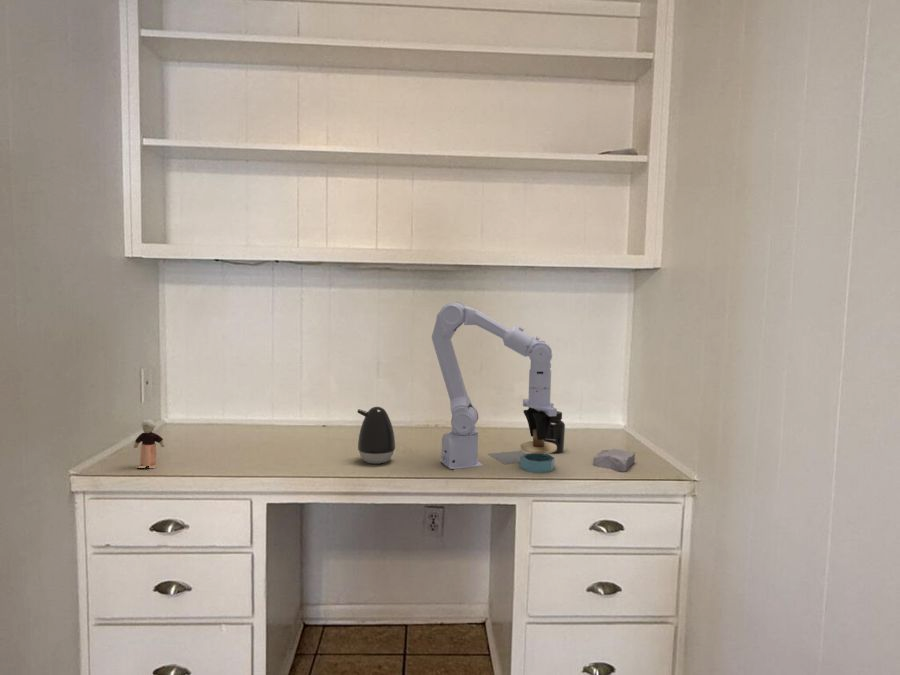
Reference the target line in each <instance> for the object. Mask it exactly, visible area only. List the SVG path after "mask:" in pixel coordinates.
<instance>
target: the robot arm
mask: <svg viewBox="0 0 900 675" xmlns="http://www.w3.org/2000/svg"><path fill="white" fill-rule="evenodd" d="M462 325H464V326H477V327H479V328H481V329H483V330H485V331H487V332H489V333H491V334H492V335H495V336H496V337H499V338H500V339H502V342H503V345H504V346H505V347H507V348H508V349H510V350H512V351H514V352H516V353H517V354H519V355H522V356H523V357H524V358H525V357H526V358H527V357H529V360H530V369H529V371H528V374H529V375H528V377H529V378H528V398H524V399H522V407H526V408H527V409H524V410H523V412H522V413H523V414H524V417H525V418H526V421H527V425H528V428H529V434H530V437H531V438H533V429H535V428H536V431H537V439H538V440H545V439H546V436H547V432H548V429H549V426H550V424H551V422H552V420H553V419H554V417H555V416H556V415H557V411H558V410H557V408H556V407H554V405H555V404H554V403H553V402H551V390H552V389H551V386H552V385H551V383H552V370H551V368H552V364H551V361H552V359H553V354H552V353H553V352H552V348H551V346H550V344H548V343H547V342H546V341H544V340H540V337H538V336H536V337H534V336H533V335H531V334H529V333H527V332H525V331H524V330H525V328H523V327H521V326H519V328H518V326H511V327H507V326H505V325H503V323H501V322H498V321H497V320H495V319H493V318H491V317H490V316H488V315H487V314H485V313H483V312H481V311H480V310H477V309H476V308H473V307H471V306H468V305H465V304H463V303H461V302H457V301H456V302H448V303H446V304H445V305H443V306H442V308H440V310H439V312H438V313H437V315H436V319H435V324H434V327H433V331H432V335H431V341H432V345H433V347H434V351H435V354H436V357H437V361H438V364H439V367H440V371H441V373H442V374H441V375H442V377H443V381H444V384H445V388H446V391H447V393H448V394H447V395H448V398H449V400H450V401H449V402H450V404H449V405H450V412H451V419H450V420H451V421H450V422H451V427H452V428H451V432H448V433H444V434H442V438H441V459H440V462H441V463H442V464H443V465H445V466H446V467H447V468H448V469H450V470H455V469H465V468H475V467H483V465H484V464H483V463H482V462H480V461H478V453H479V452H478V450H479V448H478V445H479V444H478V443H479V430H478V428H477V427H476V424H477V422H478V420H479V412H478V410H477V409H476V407H475V406H474V405H473V404H472V401H471V398H470V397H469V395H468V393H467V389H466V385H465V383H464V379H463V376H462V372H461V369H460V365H459V362H458V360H457V356H456V353H455V352H456V351H455V350H454V349H455V348H454V346H453V342H452V339H453V337H454V335H455V334H456V332H457V330H458V329H459V328H460V327H461V326H462Z"/></svg>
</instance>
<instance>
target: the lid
mask: <svg viewBox="0 0 900 675" xmlns="http://www.w3.org/2000/svg"><path fill="white" fill-rule="evenodd" d="M556 450H557V446H556V445H555V444H553V443H550V442H544V440H538V439H537V431H536V428H535V429H533V437H532V440H531V441H526V442H523V443H521V444H520V451H523V452H524V453H535V454H550V453H552V452H555V451H556Z"/></svg>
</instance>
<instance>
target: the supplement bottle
mask: <svg viewBox="0 0 900 675" xmlns="http://www.w3.org/2000/svg"><path fill="white" fill-rule="evenodd" d="M565 429H566V425H565V423H564V421H563V412H562V411H558V410H557V415H556V416H555V417H554V419H553V420H552V422H551V424H550V426H549V429H548V432H547V436H546V439H545V440H544V442H550V443H553V444H555V445H556V446H557V450H556V451H555V452H552V453H549V455H555V454H556V455H557V454H562V453H564V450H565V435H566V434H565V432H566V430H565Z"/></svg>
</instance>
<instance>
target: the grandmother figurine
mask: <svg viewBox="0 0 900 675" xmlns="http://www.w3.org/2000/svg"><path fill="white" fill-rule="evenodd" d="M141 426H142V431H143V432H142V433H140V434H139V435H138V436H137V437H136V439H135V442H134V444H133V446H132V447H133V448H134V449H137V448H138V447H139V445H140V443H141V442H142V443H141V445H140V459H139V460H140V461H139V465H138V466H155V465H157V445H156V443H158V444H159V445H160V447H161V448H165V446H166V444H165V442H164V438H162V437H161V435H159V434H157V433H154V432H153V431H154V429H155V428H157V425H156V423H155V421H153V420H152V419H151V418H149V419H144V420H143V421H142V422H141Z"/></svg>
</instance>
